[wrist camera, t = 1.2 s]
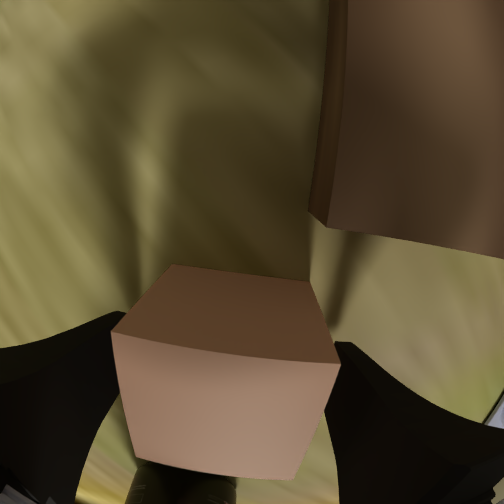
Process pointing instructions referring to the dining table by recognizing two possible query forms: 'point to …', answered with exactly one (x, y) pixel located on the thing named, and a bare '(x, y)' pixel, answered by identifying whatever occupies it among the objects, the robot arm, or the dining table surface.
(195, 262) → the dining table surface
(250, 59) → the dining table surface
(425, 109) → the walnut base
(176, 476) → the supplement bottle
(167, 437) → the terracotta cube
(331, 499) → the dining table surface
